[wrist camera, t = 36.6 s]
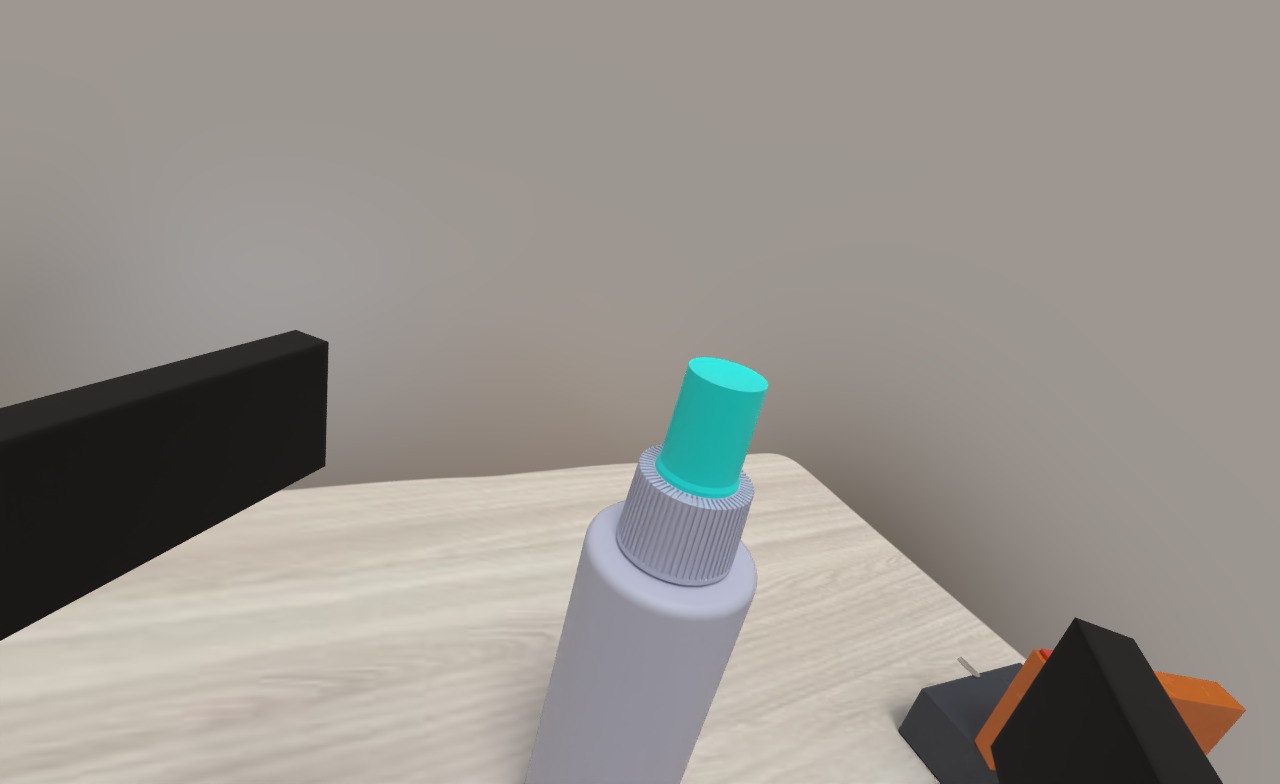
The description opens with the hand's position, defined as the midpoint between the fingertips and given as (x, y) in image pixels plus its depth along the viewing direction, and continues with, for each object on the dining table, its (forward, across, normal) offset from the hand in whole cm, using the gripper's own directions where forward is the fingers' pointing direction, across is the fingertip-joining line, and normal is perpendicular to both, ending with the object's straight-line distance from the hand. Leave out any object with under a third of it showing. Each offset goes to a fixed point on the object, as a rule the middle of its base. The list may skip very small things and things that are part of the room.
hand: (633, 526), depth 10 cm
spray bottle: (+9, 0, -22) cm, 24 cm away
